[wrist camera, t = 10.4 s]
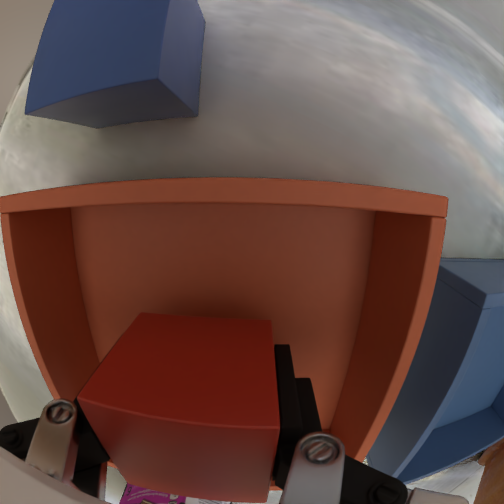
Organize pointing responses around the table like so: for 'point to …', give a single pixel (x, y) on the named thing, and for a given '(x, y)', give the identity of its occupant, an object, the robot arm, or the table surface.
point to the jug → (492, 475)
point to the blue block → (118, 62)
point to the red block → (189, 406)
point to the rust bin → (234, 277)
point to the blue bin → (450, 377)
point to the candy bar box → (159, 497)
